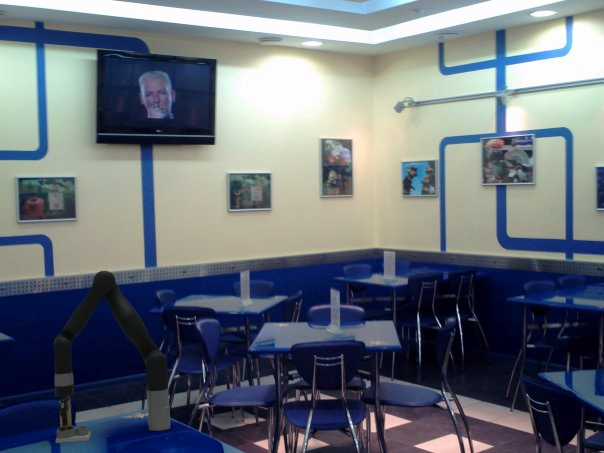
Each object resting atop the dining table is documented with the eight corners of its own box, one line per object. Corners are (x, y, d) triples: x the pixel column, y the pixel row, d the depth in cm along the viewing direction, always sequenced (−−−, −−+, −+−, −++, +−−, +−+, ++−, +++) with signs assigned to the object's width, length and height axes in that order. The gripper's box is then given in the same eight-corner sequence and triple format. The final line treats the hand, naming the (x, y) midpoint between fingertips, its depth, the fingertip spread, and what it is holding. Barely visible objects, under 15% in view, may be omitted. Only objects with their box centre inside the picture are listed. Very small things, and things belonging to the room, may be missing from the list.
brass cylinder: (72, 429, 328) (71, 406, 328) (70, 432, 324) (69, 408, 324) (61, 430, 328) (60, 407, 328) (60, 433, 323) (58, 409, 323)
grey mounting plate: (90, 434, 332) (90, 424, 332) (88, 440, 323) (87, 429, 323) (59, 437, 330) (58, 426, 330) (55, 443, 321) (55, 432, 321)
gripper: (70, 386, 319) (72, 427, 319) (75, 379, 333) (77, 419, 333) (51, 387, 318) (53, 429, 318) (57, 380, 332) (59, 420, 332)
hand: (66, 423), depth 326 cm, fingers closed on brass cylinder, 4 cm apart
